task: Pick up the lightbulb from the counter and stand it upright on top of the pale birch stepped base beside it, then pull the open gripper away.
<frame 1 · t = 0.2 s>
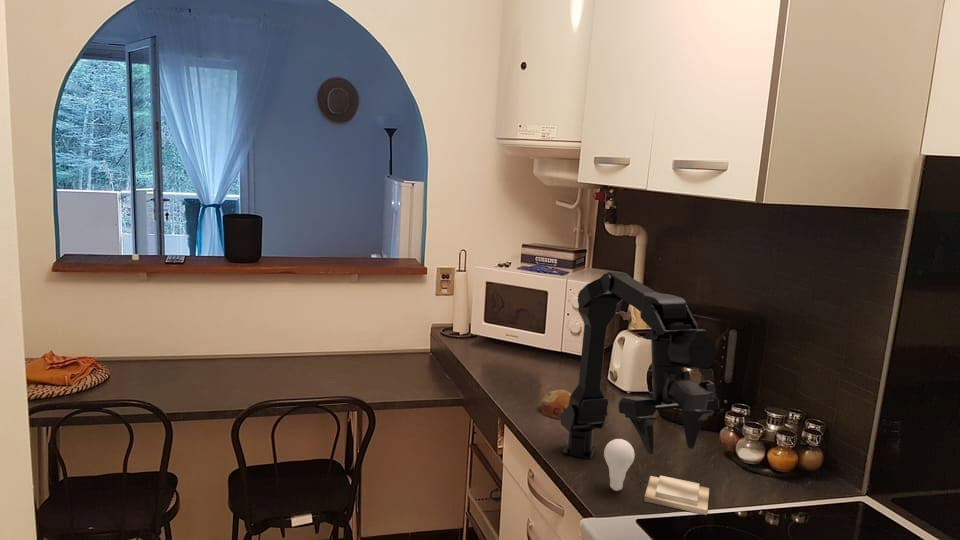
hand: (670, 451, 123), 15 cm above the worktop, tool pointing down, fingers open, 9 cm apart
bread roll: (560, 414, 181), on the worktop
base: (677, 496, 138), on the worktop
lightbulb: (615, 491, 139), on the worktop
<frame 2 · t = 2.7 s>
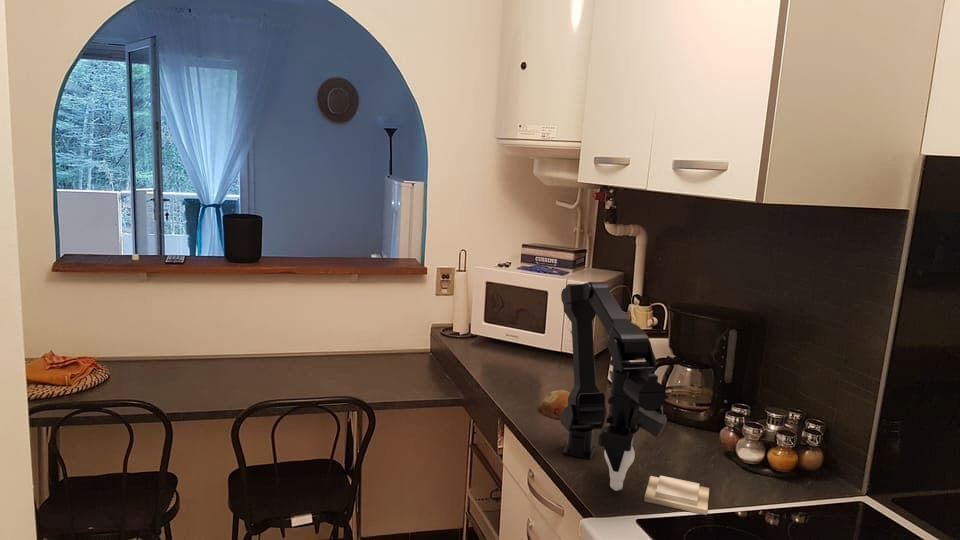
hand: (618, 465, 138), 6 cm above the worktop, tool pointing down, fingers closed on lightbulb, 6 cm apart
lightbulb: (615, 491, 139), on the worktop, touching gripper
everything else where it was.
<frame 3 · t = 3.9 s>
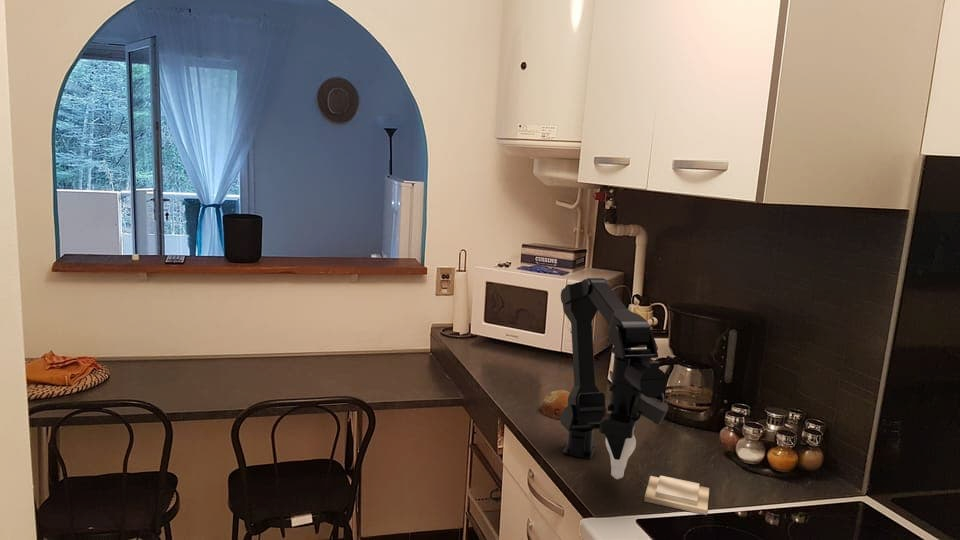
hand: (619, 453, 138), 8 cm above the worktop, tool pointing down, fingers closed on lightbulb, 6 cm apart
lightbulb: (616, 479, 139), point 2 cm above the worktop, touching gripper
everything else where it was.
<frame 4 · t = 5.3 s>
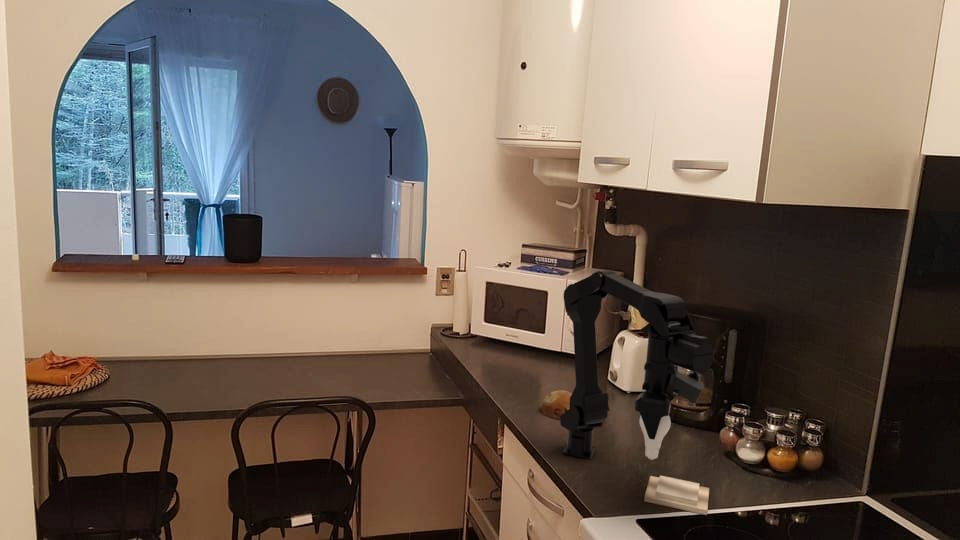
hand: (653, 433, 136), 13 cm above the worktop, tool pointing down, fingers closed on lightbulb, 6 cm apart
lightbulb: (651, 460, 137), point 7 cm above the worktop, touching gripper
everything else where it was.
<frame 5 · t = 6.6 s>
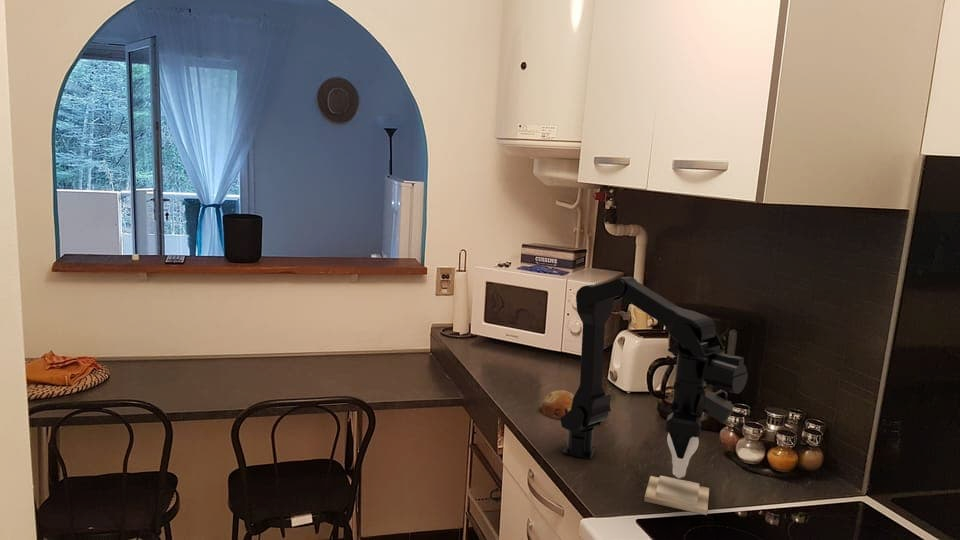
hand: (681, 452, 136), 10 cm above the worktop, tool pointing down, fingers closed on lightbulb, 6 cm apart
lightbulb: (678, 478, 137), point 4 cm above the worktop, touching gripper
everything else where it was.
when the fingers open (9 cm above the worktop, at t = 7.7 s): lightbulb drops 1 cm, resting on base.
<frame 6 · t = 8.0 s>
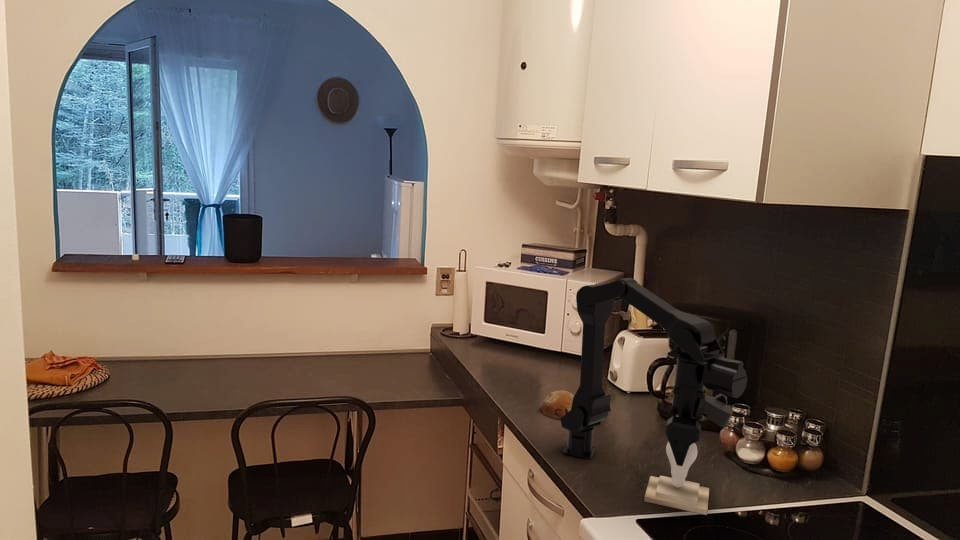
hand: (681, 456, 137), 9 cm above the worktop, tool pointing down, fingers open, 9 cm apart
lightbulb: (677, 488, 138), point 2 cm above the worktop, touching base
everything else where it was.
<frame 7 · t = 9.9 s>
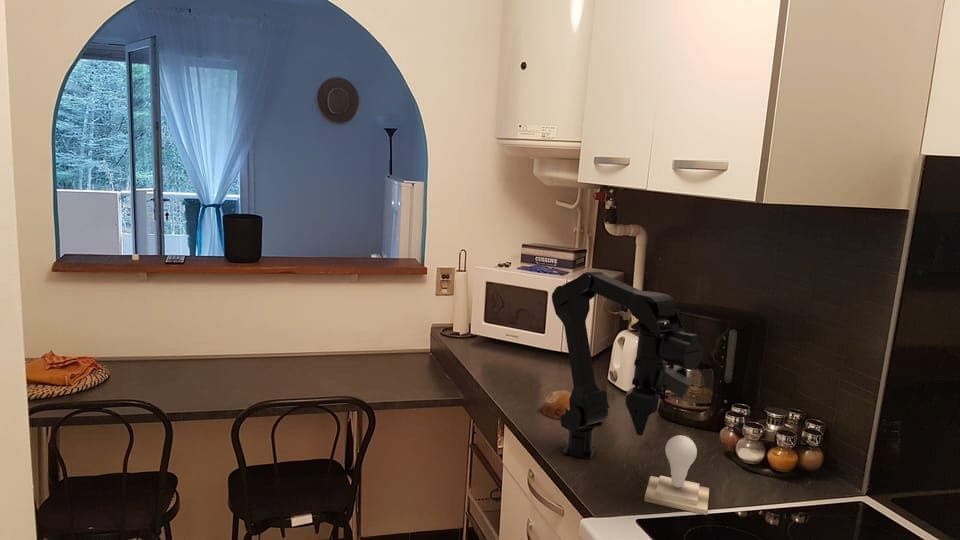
hand: (642, 426, 141), 13 cm above the worktop, tool pointing down, fingers open, 9 cm apart
nothing on the worktop moved.
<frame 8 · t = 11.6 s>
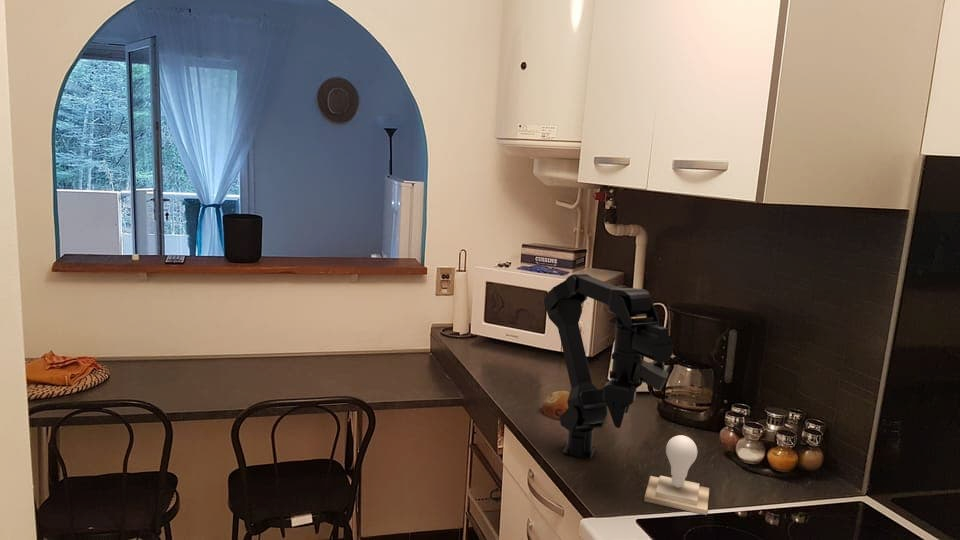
hand: (621, 419, 143), 13 cm above the worktop, tool pointing down, fingers open, 9 cm apart
nothing on the worktop moved.
at the end: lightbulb inside the target area on the base (0.2 cm from its centre), point 1.8 cm above the base's base; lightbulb tilted 1°; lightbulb touching base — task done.
